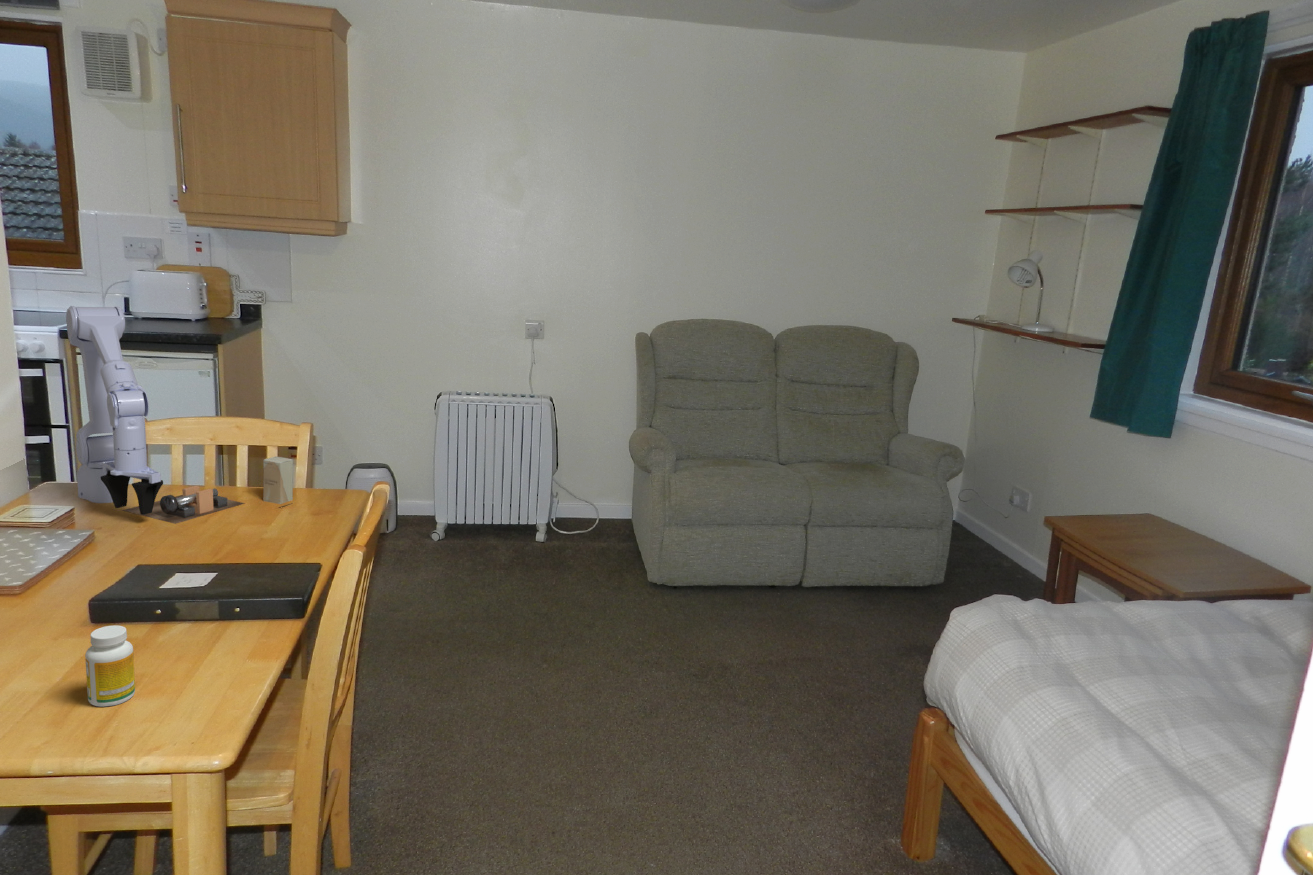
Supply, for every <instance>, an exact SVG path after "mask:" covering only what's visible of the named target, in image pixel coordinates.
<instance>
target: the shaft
mask: <svg viewBox="0 0 1313 875" xmlns="http://www.w3.org/2000/svg"><path fill="white" fill-rule="evenodd" d="M212 489H213V497H215V496H219V491H218V489H217V488H212ZM175 497H176V496H174V495H173V494H168V495H167V494H166V495H164V496H161V497H160V500H159V501H160V506H161V509H162V511H163V512H164V513H166V514H172V513H175V512H177V510H178V507H179V506H182V505H185V504H189V503H193V502H196V493H195V494H191V495H187V496H183V497H180V498H175Z"/></svg>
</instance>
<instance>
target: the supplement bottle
mask: <svg viewBox="0 0 1313 875" xmlns="http://www.w3.org/2000/svg"><path fill="white" fill-rule="evenodd" d="M127 633H128V632H127V628H126V627H125V626H123V625H116V624H115V625H105V626H102V627H100V628H96V629H94V630H93V631H92V632H90V645H91V646H90V647H89V648H87V649H86V651H85V658H84V660H85V672H86V674H85V675H86V690H87V693H86V694H87V701H88V702H89V704H90V705H92V706H93V707H94V706H95V707H102V708H103V707H104V708H105V707H112V706H118V705H121V704H123V703H126V702H127V701H129V700H130V699H131V698H132V697H133V696H134V695H135V693H136V681H135V680H136V679H135V661H134V659H135V658H134V657H135V656H134V655H135V654H134V647H133V644H132V643H131V642H130V641H128V640H127V638H128V634H127Z"/></svg>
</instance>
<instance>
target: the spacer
mask: <svg viewBox="0 0 1313 875" xmlns="http://www.w3.org/2000/svg"><path fill="white" fill-rule="evenodd" d="M213 489H214V488H207V489H203V490H200V486H199V485H193V486H189V487H185V488H182V495H183V496H187V495H191V494H195V493H196V502H193V503H189V504H185V505H189V506H193V507H195V513H199V514H201V513H204V512H208V511H211V510H213Z"/></svg>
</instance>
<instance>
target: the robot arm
mask: <svg viewBox="0 0 1313 875" xmlns="http://www.w3.org/2000/svg"><path fill="white" fill-rule="evenodd" d="M65 314H66V315H65V318H66V320H65V321H66V328H67V331H66V332H67V338H68V340H69V344H70V345H72V346H73V347H77V348H78V349H79V352H80V355H81V360H82V369H83V377H84V386H85V392H86V393H85V394H86V402H87V410H88V417H89V418H88V420H89V421H88V422H87V423H85V424H84V425H83V426H82V427H80V428H79V429H78V430H77V432H76V434H75V436H76V438H75V440H76V442H75V451H76V457H77V460H78V462H79V463H80V464H81V465H80V467H79V468H78V470H77V471H76V472H77V473H76V481H77V493H78V494H77V497H78V498H80V499H83V500H86V501H88V502H90V503H94V504H110V503H113V506H114V507H115V509H119V508H124V507H127V505H128V491H129V490H128V489H129V484H130V480H131V478H134V479H136V480H137V479H138V480H140V481H136V482H132V483H131V486H132V488H133V490H134V492H135V494H136V497H137V502H138V506H139V510H140V513H141V514H142V515H145V514H148V513H152V510H153V506H154V502H156V498H157V495H158V493H159V491H160V490H161V488H162V486H163V485H164V480H162V476H161V472H160V471H156V470H154V469H153V468H151V467H150V466H148V455H147V437H146V436H147V434H146V421H145V420H146V419H145V418H146V417H147V416H148V415H149V410H150V407H149V406H150V405H149V397H148V395H147V392H146V390H145V389H144V388H143V387H142V385H139V384H138V381H137V379H136V376H135V372H134V369H133V366H132V365H131V364H130V363H129V362H127V361H126V360H125V361H124V358H123V353H122V349H121V343H120V339H121V338H122V337H123V334H124V332H125V329H126V320H125V319H126V318H125V313H124V311H123V310H122V309H121V308H120V307H119V306H113V307H112V306H111V307H110V306H106V307H105V306H74V305H70V306H69V307H68V308H67V310H66V313H65ZM110 433H112V434H110ZM99 434H107V435H99ZM92 435H95V436H92ZM96 435H97V436H96ZM142 515H141V516H142Z"/></svg>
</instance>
